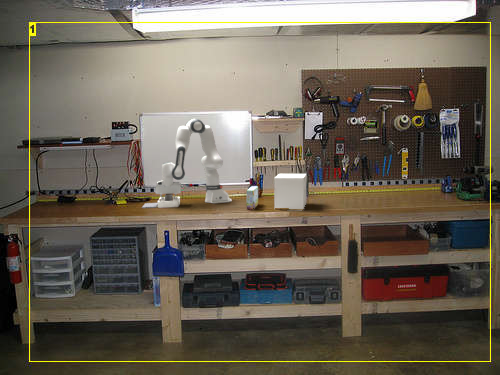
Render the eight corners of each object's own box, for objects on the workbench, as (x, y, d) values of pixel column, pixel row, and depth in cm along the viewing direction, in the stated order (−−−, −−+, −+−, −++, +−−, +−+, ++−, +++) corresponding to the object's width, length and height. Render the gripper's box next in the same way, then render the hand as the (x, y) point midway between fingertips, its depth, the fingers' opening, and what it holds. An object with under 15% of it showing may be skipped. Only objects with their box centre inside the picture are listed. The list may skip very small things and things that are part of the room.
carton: (180, 202, 314) (179, 196, 313) (178, 206, 296) (178, 200, 295) (160, 203, 312) (160, 197, 311) (157, 207, 294) (157, 201, 294)
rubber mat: (158, 203, 311) (158, 202, 311) (156, 207, 295) (156, 206, 295) (145, 204, 310) (145, 203, 310) (141, 208, 294) (141, 207, 294)
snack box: (253, 210, 278) (253, 190, 276) (246, 209, 280) (245, 190, 277) (258, 204, 299) (258, 185, 297) (251, 204, 300) (251, 185, 298)
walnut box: (173, 203, 310) (172, 192, 309) (171, 206, 298) (171, 195, 297) (167, 203, 310) (166, 193, 308) (165, 206, 298) (164, 195, 297)
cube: (303, 211, 273) (303, 178, 269) (274, 210, 278) (274, 177, 274) (306, 204, 297) (306, 173, 293) (279, 203, 302) (279, 173, 298)
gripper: (181, 181, 305) (181, 197, 307) (155, 181, 303) (156, 198, 305) (180, 182, 299) (181, 199, 301) (154, 183, 297) (155, 200, 299)
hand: (168, 199), depth 303 cm, fingers open, 8 cm apart
